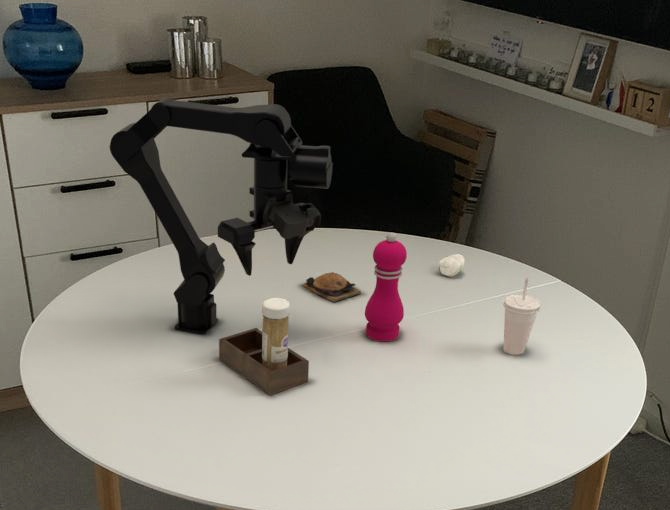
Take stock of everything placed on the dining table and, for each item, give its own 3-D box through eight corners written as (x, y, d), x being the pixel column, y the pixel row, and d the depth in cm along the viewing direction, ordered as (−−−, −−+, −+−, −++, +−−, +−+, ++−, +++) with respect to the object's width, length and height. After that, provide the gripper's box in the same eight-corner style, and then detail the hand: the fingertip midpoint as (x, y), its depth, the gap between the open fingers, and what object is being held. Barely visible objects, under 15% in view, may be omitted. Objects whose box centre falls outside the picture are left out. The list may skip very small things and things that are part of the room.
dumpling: (468, 278, 191) (468, 263, 188) (445, 284, 191) (445, 268, 188) (456, 261, 196) (457, 245, 193) (434, 266, 196) (434, 251, 193)
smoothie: (534, 346, 163) (548, 275, 156) (528, 361, 158) (542, 288, 151) (499, 339, 166) (512, 269, 158) (492, 353, 161) (504, 282, 153)
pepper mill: (400, 344, 163) (411, 241, 153) (361, 340, 165) (369, 238, 154) (402, 327, 169) (413, 227, 159) (364, 324, 171) (373, 224, 160)
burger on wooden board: (363, 294, 183) (365, 278, 181) (331, 303, 179) (333, 287, 177) (331, 277, 190) (332, 261, 188) (299, 285, 186) (300, 269, 184)
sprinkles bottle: (283, 382, 149) (285, 310, 142) (257, 378, 151) (258, 306, 143) (290, 370, 153) (293, 299, 146) (265, 366, 154) (266, 295, 147)
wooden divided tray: (219, 359, 158) (218, 339, 156) (256, 347, 162) (256, 327, 160) (270, 395, 147) (270, 374, 145) (308, 381, 151) (309, 360, 149)
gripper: (252, 206, 141) (252, 296, 150) (342, 185, 150) (337, 271, 159) (214, 188, 149) (216, 275, 157) (302, 170, 158) (300, 253, 166)
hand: (269, 269), depth 160 cm, fingers open, 9 cm apart
